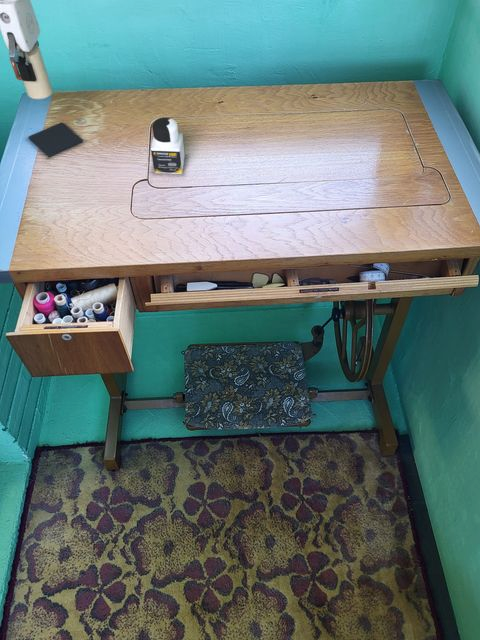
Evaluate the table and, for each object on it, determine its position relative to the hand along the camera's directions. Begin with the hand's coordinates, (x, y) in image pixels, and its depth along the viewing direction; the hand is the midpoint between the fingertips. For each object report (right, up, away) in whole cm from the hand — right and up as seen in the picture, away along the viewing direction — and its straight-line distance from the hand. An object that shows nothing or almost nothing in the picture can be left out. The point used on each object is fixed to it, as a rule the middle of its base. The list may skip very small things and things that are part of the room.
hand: (33, 71), depth 123 cm
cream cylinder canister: (0, -3, +4) cm, 5 cm away
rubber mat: (-1, -10, +15) cm, 18 cm away
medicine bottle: (+30, -18, +12) cm, 37 cm away
